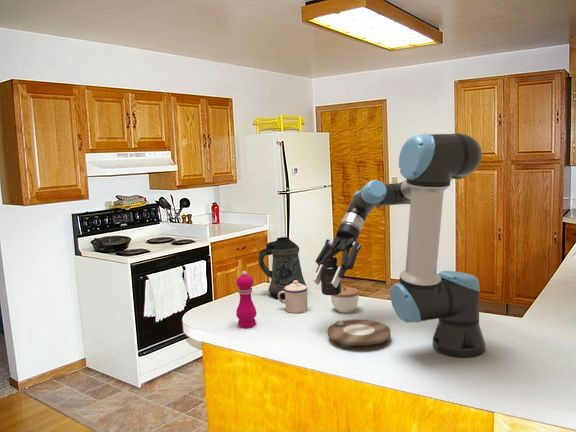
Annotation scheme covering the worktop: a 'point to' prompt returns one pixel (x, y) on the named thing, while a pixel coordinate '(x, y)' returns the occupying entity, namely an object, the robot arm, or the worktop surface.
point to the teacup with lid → (295, 297)
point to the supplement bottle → (329, 276)
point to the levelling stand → (358, 333)
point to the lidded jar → (345, 299)
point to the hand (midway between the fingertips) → (324, 283)
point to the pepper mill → (245, 302)
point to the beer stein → (281, 265)
